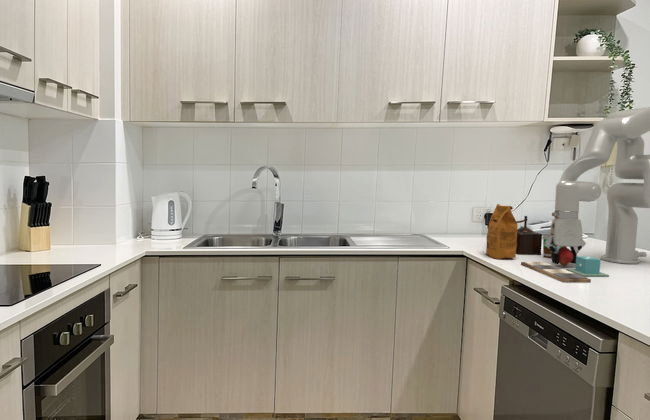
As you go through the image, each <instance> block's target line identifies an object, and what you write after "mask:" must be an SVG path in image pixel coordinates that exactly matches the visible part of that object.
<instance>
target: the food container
mask: <svg viewBox="0 0 650 420" xmlns="http://www.w3.org/2000/svg"><path fill="white" fill-rule="evenodd" d="M549 237H550V233H547V234H546V233H542V241H543V242H542V245H543V246H542V247H543V248H542V250H543V251H542V256H543V258H546V259H552V252H551V251H550V250H549V249H548V247H546V246H545V245H544V242H545V241H546V240H547V239H548V238H549ZM550 245H551V246H552V244H550ZM560 248H562V247H560Z"/></svg>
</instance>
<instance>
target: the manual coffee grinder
mask: <svg viewBox="0 0 650 420" xmlns="http://www.w3.org/2000/svg"><path fill="white" fill-rule="evenodd" d="M516 222H517V224H520V223H523V222H524V223H523V224H524V225H523V226H520V227H519V228H517V240H516V242H517V247H516V255H518V256H541V255H542V247H543V246H542V245H543V242H542V241H543V239H542V237H543V233H540V232H537V231H534V230H533V229H531V228H529V227H527V224H528V223H527V222H528V215H524V219H522V220H516Z"/></svg>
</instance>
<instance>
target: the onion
mask: <svg viewBox="0 0 650 420" xmlns="http://www.w3.org/2000/svg"><path fill="white" fill-rule="evenodd" d="M558 254H559V264H560V265H561V266H563V267H566V266H567V265H569V264H571V263H570V262H572V260H573V258H574V257H573V253H572V252H571V250H570V248H569V247H562V248H560V249H559V251H558Z"/></svg>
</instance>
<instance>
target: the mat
mask: <svg viewBox="0 0 650 420" xmlns="http://www.w3.org/2000/svg"><path fill="white" fill-rule="evenodd" d="M565 270H567V271H570V272H573V273H575V274H578V275H581V276H584V277H586V278H609V277H610V275H609V274H607V273H605V272H604V273H603V272H601V271H600V272H599V274H584V273H582V272H579V271H576V270H575V268H565Z"/></svg>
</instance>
